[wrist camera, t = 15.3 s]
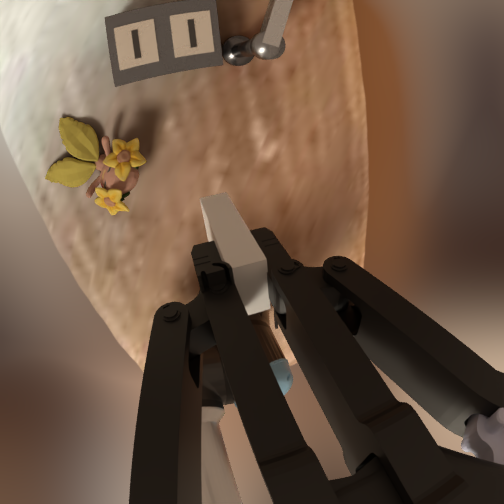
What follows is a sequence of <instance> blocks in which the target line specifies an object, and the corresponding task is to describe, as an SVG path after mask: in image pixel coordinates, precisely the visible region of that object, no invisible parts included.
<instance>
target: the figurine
mask: <svg viewBox="0 0 504 504" xmlns="http://www.w3.org/2000/svg"><path fill="white" fill-rule="evenodd" d="M59 130H60V131H59V132H60V134H61V135H60V136H61V138H62V139H63V141H62V143H63V144H64V145H65V146H66V150H67V151H68V152H69V153H70V154H71V155H73V156H74V157H76V158H78V159H81V160H85V161H95V162H94V163H90V162H85V161H80V160H77V159H75V158H69V157H66V158H64V159H63V161H60V160H59V161H57V163H54V164H53V165H52V166H51V168H50V169H49V170H48V172H47V175H46V177H45V179H47V180H50V181H51V182H55V183H58V182H59V183H60V184H62V183H63V185H64V186H69V187H78V186H80V185H82V184H84V183H85V182H86V181H87V180H88V179H89V178H90V176H91V175H92V174H93V172H94V170H95V169H97V170H99V171H101V174H100V176H99V177H98V178H97V179H96V180H95V181H94V182H93V183H92V184H91V185H90V187H89V188H88V190H87V192H86V196H87V197H88V198H90V197H91V196H92V195H93V193H94V191H95V192H96V193H97V195H98V196H99V197H97V198H96V199H95V203H96V204H97V205H99V206H101V207H103V208H107V209H108V211H109V212H110V214H111V215H115V214H116V213H117V212H118V211H129V209H128V207H127V206H126V205H125V204H124V203H123V202H122V201H123V200H124V198H125V197H127V196H128V195H129V194H130V192H129V191H131V190H132V189H133V188H134V187H135V185H136V184H137V181H138V178H139V172H138V168H139V166H140V165H143V164H145V163H146V162H147V161H146V159H145V158H144V157H143V156H142V155H141V154H140V153H139V152H138V151H139V140H138V138H135V139H133V140H131V141H129V142H127V143H126V142H125V141H123V140H121V139H114V140H113V142H112V147H113V153H111V151H110V141H109V138H108V136H104V137H103V138H102V145H103V148H104V151H105V154H106V155H105V154H102V155H99V142H98V137H97V134H96V133H95V131H94V129H93V128H92V127H91V126H90V125H88V124H87V125H85V124H84V123H82V122H78V121H77V120H74V119H73V118H70V117H66V118H60V123H59ZM99 183H101V186H102V188H97V186H98V185H99ZM122 194H123V195H122Z"/></svg>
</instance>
